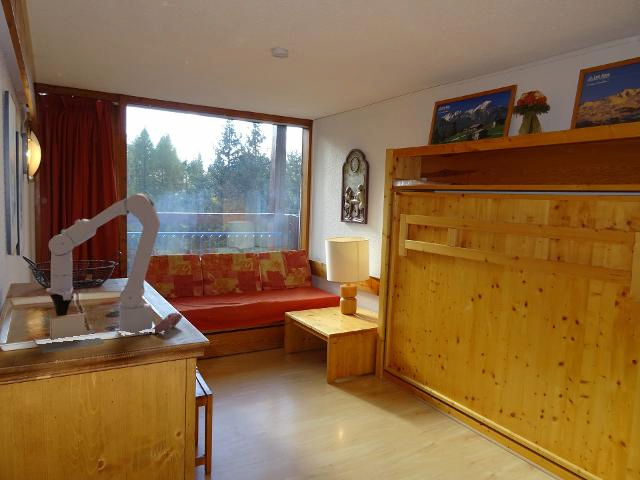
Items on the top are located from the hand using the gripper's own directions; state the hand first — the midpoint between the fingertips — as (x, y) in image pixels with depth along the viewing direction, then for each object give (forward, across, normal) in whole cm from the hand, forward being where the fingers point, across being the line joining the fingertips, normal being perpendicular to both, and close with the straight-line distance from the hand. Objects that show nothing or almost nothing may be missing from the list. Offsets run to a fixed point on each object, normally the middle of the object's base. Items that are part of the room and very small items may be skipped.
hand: (61, 317), depth 142 cm
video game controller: (+5, +12, +29) cm, 32 cm away
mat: (+5, +10, 0) cm, 11 cm away
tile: (+4, +8, 0) cm, 9 cm away
